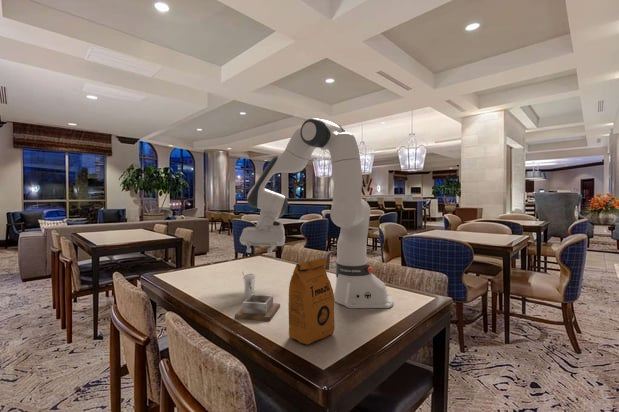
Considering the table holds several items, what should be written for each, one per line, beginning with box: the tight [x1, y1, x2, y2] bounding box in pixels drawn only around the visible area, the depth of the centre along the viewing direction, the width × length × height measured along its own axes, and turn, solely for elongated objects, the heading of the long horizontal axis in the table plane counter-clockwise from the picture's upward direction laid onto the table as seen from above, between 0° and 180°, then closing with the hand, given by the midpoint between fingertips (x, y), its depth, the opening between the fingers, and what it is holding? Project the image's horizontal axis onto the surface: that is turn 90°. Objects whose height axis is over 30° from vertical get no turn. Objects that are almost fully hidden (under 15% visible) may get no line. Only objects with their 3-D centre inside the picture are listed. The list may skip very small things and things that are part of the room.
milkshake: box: [241, 270, 256, 299], centre depth 119 cm, size 4×5×10 cm
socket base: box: [234, 293, 281, 322], centre depth 104 cm, size 12×12×5 cm
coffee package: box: [288, 257, 336, 345], centre depth 86 cm, size 10×12×22 cm
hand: (258, 252), depth 131 cm, fingers open, 8 cm apart
